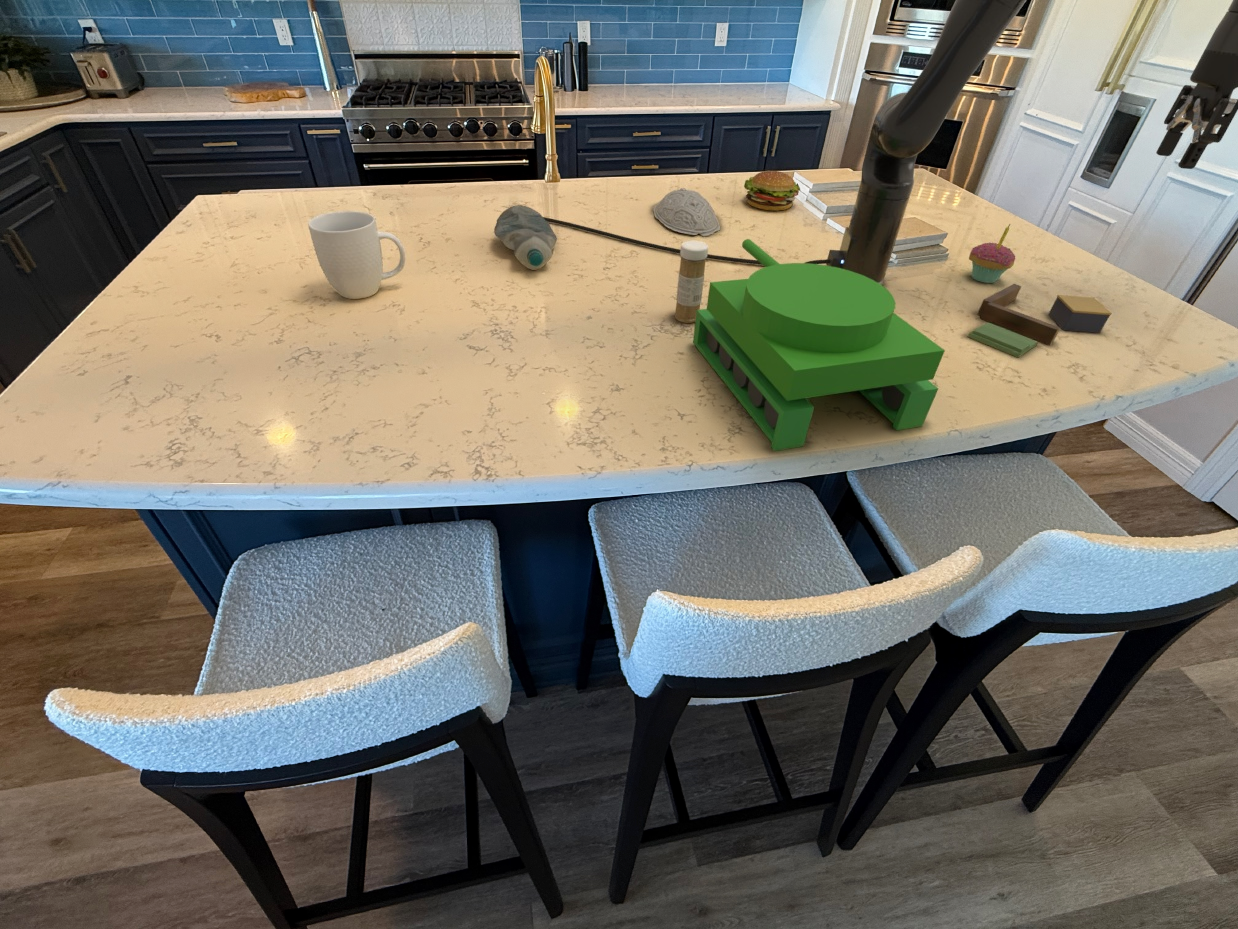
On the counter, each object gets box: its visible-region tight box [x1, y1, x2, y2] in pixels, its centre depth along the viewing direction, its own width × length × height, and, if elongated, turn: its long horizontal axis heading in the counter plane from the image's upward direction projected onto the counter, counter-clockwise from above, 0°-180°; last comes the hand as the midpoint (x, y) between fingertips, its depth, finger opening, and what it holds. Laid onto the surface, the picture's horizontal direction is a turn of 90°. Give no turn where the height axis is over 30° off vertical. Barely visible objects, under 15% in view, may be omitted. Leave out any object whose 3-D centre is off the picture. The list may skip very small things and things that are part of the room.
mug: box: [307, 210, 406, 300], centre depth 113 cm, size 15×11×13 cm
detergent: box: [493, 204, 558, 271], centre depth 131 cm, size 13×7×25 cm
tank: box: [692, 238, 946, 452], centre depth 94 cm, size 24×35×16 cm
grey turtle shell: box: [653, 187, 721, 237], centre depth 153 cm, size 16×25×7 cm, turn 8°
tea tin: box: [1047, 294, 1113, 334], centre depth 116 cm, size 7×7×4 cm
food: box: [743, 170, 801, 212], centre depth 163 cm, size 14×14×8 cm
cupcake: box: [968, 223, 1016, 284], centre depth 128 cm, size 9×8×12 cm
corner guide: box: [977, 283, 1062, 346], centre depth 117 cm, size 10×19×3 cm, turn 174°
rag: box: [967, 321, 1039, 358], centre depth 110 cm, size 9×7×1 cm
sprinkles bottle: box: [674, 240, 709, 324], centre depth 109 cm, size 5×5×13 cm
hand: (1173, 161), depth 108 cm, fingers open, 8 cm apart
